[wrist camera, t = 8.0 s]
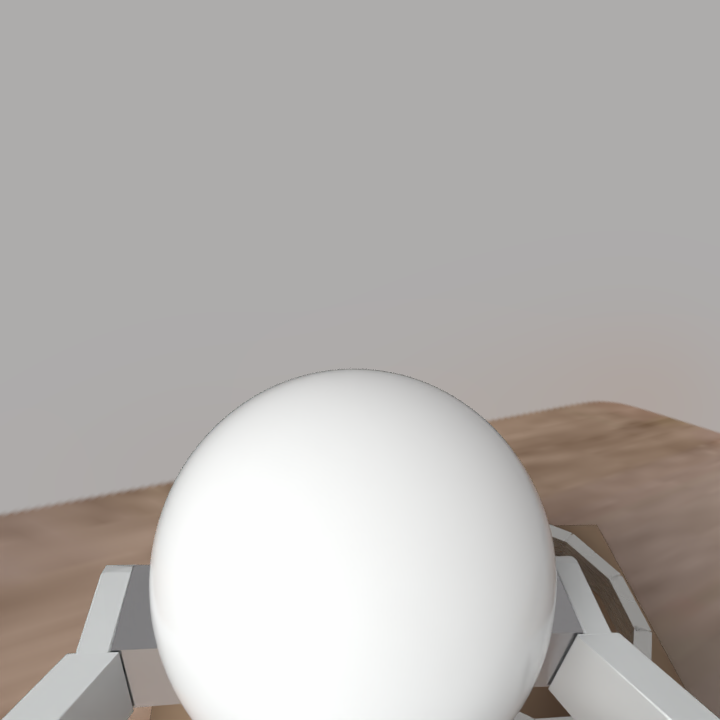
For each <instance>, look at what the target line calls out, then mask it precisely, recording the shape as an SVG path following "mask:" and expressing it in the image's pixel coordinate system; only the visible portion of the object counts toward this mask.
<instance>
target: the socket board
mask: <svg viewBox="0 0 720 720" xmlns="http://www.w3.org/2000/svg"><path fill="white" fill-rule="evenodd" d="M549 526H550V530H551V534H552V539H553V544H554V550H555V556H573V557H574V558H575V559H576V560H577V562H578V564H579V566H580V568H581V570H582V572H583V574H584V576H585V578H586V580H587V583H588V585H589V587H590V589H591V591H592V593H593V595H594V597H595V599H596V601H597V603H598V605H599V608H600V610H601V612H602V614H603V616H604V618H605V620H606V622H607V624H608V626H609V628H610V630H611V632H612V633H620V634H621V635H622V636H623V637H624V638H626V639H627V640H628V641H629V642H630V643H631V644H633V645H634V646H635V647H636V648H637V649H638V650H640V651H641V652H642V653H643V654H644V655H645V656H647V657H648V658H649V659H650V660H651V661H652V662H654V663H655V664H656V665H657V666H658V667H659V668H661V669H662V670H663V671H664V672H665V673H666V674H668V675H669V676H670V677H671V678H672V679H673V680H675V681H676V682H677V683H678V684H679V685H680V686H682V687H683V688H684V689H685V687H684V685H683V684H682V682H681V680H680V678H679V676H678V674H677V673H676V671H675V669H674V667H673V665H672V663H671V661H670V660H669V658H668V656H667V654H666V652H665V650H664V648H663V647H662V645H661V643H660V641H659V639H658V637H657V635H656V634H655V632H654V630H653V628H652V626H651V624H650V622H649V621H648V619H647V617H646V615H645V613H644V611H643V609H642V608H641V606H640V604H639V602H638V600H637V598H636V596H635V595H634V593H633V591H632V589H631V587H630V585H629V584H628V582H627V580H626V578H625V576H624V574H623V572H622V571H621V569H620V567H619V565H618V563H617V561H616V559H615V558H614V556H613V554H612V552H611V550H610V548H609V546H608V545H607V543H606V541H605V539H604V537H603V535H602V533H601V532H600V530H599V528H598V526H597V525H567V526H553V525H550V524H549ZM685 690H686V689H685ZM150 720H191V718H190V717H189V715H188V714H187V712H186V711H185V709H184V708H183V706H182V705H181V704H173V705H160V706H152V710H151V715H150ZM514 720H574V719H573V718H572V716H571V715H570V714H569V713H568V712H567V710H566V709H565V708H564V707H563V706H562V705H561V703H560V702H559V701H558V700H557V699H556V697H555V696H554V695H553V694H552V693H551V692H550V690H549V687H533V689H532V691H531V693H530V695H529V696H528V698H527V700H526V702H525V703H524V705H523V707H522V708H521V710H520V711H519V713H518V714H517V716H516V717H515V719H514Z"/></svg>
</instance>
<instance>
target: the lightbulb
mask: <svg viewBox="0 0 720 720" xmlns="http://www.w3.org/2000/svg"><path fill="white" fill-rule="evenodd" d="M556 599H557V569H556V558H555V550H554V544H553V539H552V534H551V530H550V526H549V522H548V519H547V516H546V513H545V510H544V507H543V504H542V502H541V499H540V497H539V494H538V492H537V490H536V488H535V486H534V484H533V482H532V480H531V478H530V476H529V474H528V472H527V471H526V469H525V467H524V466H523V464H522V463H521V461H520V460H519V458H518V457H517V455H516V454H515V452H514V451H513V450H512V448H511V447H510V446H509V445H508V443H507V442H506V441H505V440H504V439H503V437H502V436H501V435H500V434H499V433H498V432H497V431H496V430H495V429H494V428H493V427H492V426H491V425H490V424H489V423H488V422H487V421H486V420H485V419H484V418H483V417H481V416H480V415H479V414H478V413H477V412H475V411H474V410H473V409H471V408H470V407H469V406H467V405H466V404H464V403H463V402H461V401H460V400H458V399H457V398H455V397H454V396H452V395H450V394H448V393H447V392H445V391H443V390H441V389H438V388H437V387H435V386H432V385H430V384H428V383H425V382H423V381H420V380H417V379H414V378H411V377H408V376H404V375H401V374H396V373H391V372H386V371H379V370H369V369H338V370H328V371H322V372H316V373H312V374H307V375H303V376H300V377H297V378H294V379H290V380H288V381H285V382H283V383H280V384H278V385H275V386H273V387H271V388H269V389H267V390H265V391H263V392H261V393H259V394H257V395H256V396H254V397H252V398H251V399H249V400H248V401H246V402H245V403H243V404H242V405H240V406H239V407H237V408H236V409H235V410H233V411H232V412H231V413H230V414H228V415H227V416H226V417H225V418H224V419H223V420H222V421H220V422H219V423H218V424H217V425H216V426H215V427H214V428H213V429H212V430H211V431H210V432H209V433H208V434H207V435H206V437H205V438H204V439H203V440H202V441H201V442H200V444H199V445H198V446H197V447H196V449H195V450H194V451H193V453H192V454H191V455H190V457H189V458H188V460H187V461H186V463H185V464H184V466H183V467H182V469H181V471H180V473H179V474H178V476H177V478H176V480H175V482H174V483H173V485H172V487H171V490H170V492H169V494H168V496H167V499H166V501H165V504H164V506H163V509H162V512H161V515H160V518H159V521H158V524H157V528H156V532H155V536H154V541H153V546H152V552H151V559H150V570H149V604H150V614H151V621H152V627H153V633H154V637H155V641H156V645H157V649H158V652H159V656H160V659H161V662H162V664H163V667H164V670H165V673H166V675H167V677H168V680H169V682H170V684H171V686H172V688H173V690H174V692H175V694H176V696H177V698H178V700H179V701H180V703H181V705H182V706H183V708H184V709H185V711H186V712H187V714H188V715H189V717H190V718H191V720H514V719H515V717H516V716H517V714H518V713H519V711H520V710H521V708H522V707H523V705H524V703H525V702H526V700H527V698H528V696H529V695H530V693H531V691H532V689H533V687H534V685H535V683H536V681H537V678H538V676H539V674H540V671H541V669H542V666H543V663H544V660H545V657H546V654H547V651H548V647H549V644H550V639H551V635H552V630H553V625H554V618H555V611H556Z"/></svg>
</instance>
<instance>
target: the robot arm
mask: <svg viewBox="0 0 720 720" xmlns="http://www.w3.org/2000/svg"><path fill="white" fill-rule="evenodd" d="M555 558H556V569H557V599H556V611H555V618H554V625H553V630H552V635H551V639H550V644H549V647H548V651H547V654H546V657H545V660H544V663H543V666H542V669H541V671H540V674H539V676H538V678H537V681H536V683H535V685H534V687H549V690H550V692H551V693H552V694H553V695H554V696H555V697H556V699H557V700H558V701H559V702H560V703H561V705H562V706H563V707H564V708H565V709H566V710H567V712H568V713H569V714H570V715H571V716H572V718H573V719H574V720H720V719H719V718H718V717H717V716H715V715H714V714H713V713H712V712H711V711H710V710H708V709H707V708H706V707H705V706H704V705H703V704H701V703H700V702H699V701H698V700H697V699H696V698H694V697H693V696H692V695H691V694H690V693H689V692H687V691H686V690H685V689H684V688H683V687H682V686H680V685H679V684H678V683H677V682H676V681H675V680H673V679H672V678H671V677H670V676H669V675H668V674H666V673H665V672H664V671H663V670H662V669H661V668H659V667H658V666H657V665H656V664H655V663H654V662H652V661H651V660H650V659H649V658H648V657H647V656H645V655H644V654H643V653H642V652H641V651H640V650H638V649H637V648H636V647H635V646H634V645H633V644H631V643H630V642H629V641H628V640H627V639H626V638H624V637H623V636H622V635H621V634H620V633H612V632H611V630H610V628H609V626H608V624H607V622H606V620H605V618H604V616H603V614H602V612H601V610H600V608H599V605H598V603H597V601H596V599H595V597H594V595H593V593H592V591H591V589H590V587H589V585H588V583H587V580H586V578H585V576H584V574H583V572H582V570H581V568H580V566H579V564H578V562H577V560H576V559H575V558H574V557H573V556H555ZM149 570H150V565H106V567H105V568H104V570H103V572H102V573H101V575H100V579H99V582H98V585H97V588H96V591H95V594H94V597H93V600H92V604H91V607H90V610H89V613H88V616H87V619H86V622H85V625H84V629H83V632H82V635H81V638H80V641H79V644H78V647H77V651H76V653H72V654H66V655H65V656H64V657H63V658H62V659H61V660H60V661H59V662H58V663H57V664H56V665H55V666H54V667H53V668H52V669H51V670H50V671H49V672H48V673H47V674H46V675H45V676H44V677H43V678H42V679H41V680H40V681H39V682H38V683H37V684H36V685H35V686H34V687H33V688H32V689H31V690H30V691H29V692H28V693H27V694H26V695H25V696H24V697H23V698H22V699H21V700H20V701H19V702H18V703H17V704H16V706H15V707H14V708H13V709H12V710H11V711H10V712H9V713H8V714H7V715H6V716H5V717H4V718H3V719H2V720H127V719H128V718H129V717H130V715H131V714H132V713H133V711H134V710H133V708H134V707H147V706H160V705H173V704H181V703H180V701H179V700H178V698H177V696H176V694H175V692H174V690H173V688H172V686H171V684H170V682H169V680H168V677H167V675H166V673H165V670H164V667H163V664H162V662H161V659H160V656H159V652H158V649H157V645H156V641H155V637H154V633H153V627H152V621H151V614H150V604H149Z"/></svg>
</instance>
